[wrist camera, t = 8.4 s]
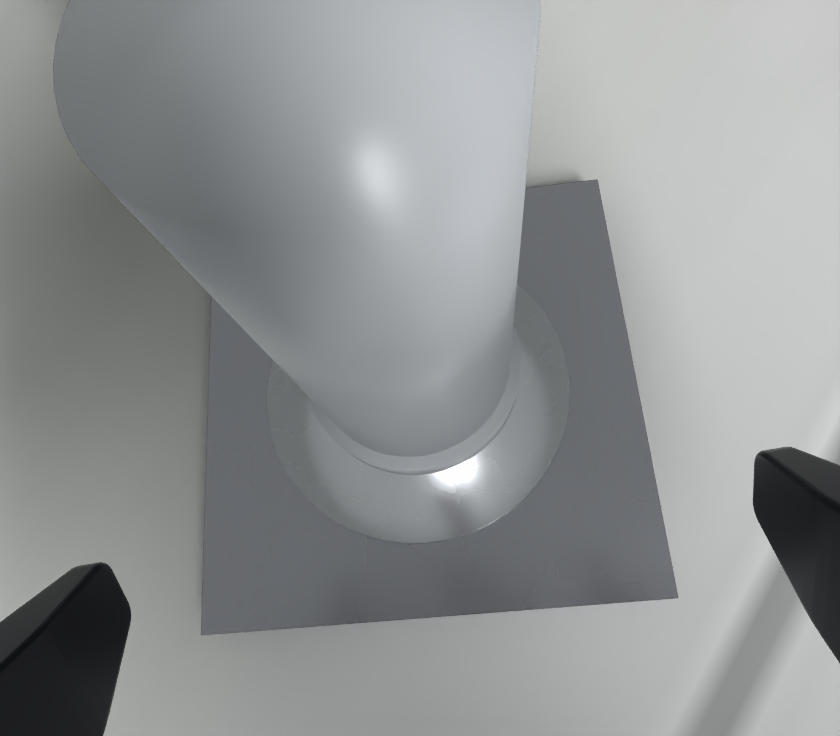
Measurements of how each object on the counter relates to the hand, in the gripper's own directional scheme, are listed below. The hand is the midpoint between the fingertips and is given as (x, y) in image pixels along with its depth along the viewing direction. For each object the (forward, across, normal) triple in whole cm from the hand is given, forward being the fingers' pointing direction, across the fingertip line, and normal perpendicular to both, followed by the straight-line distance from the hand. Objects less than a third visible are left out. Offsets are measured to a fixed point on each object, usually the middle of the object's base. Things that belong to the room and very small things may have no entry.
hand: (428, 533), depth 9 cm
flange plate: (+10, 0, +3) cm, 10 cm away
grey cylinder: (+9, 0, +2) cm, 10 cm away
